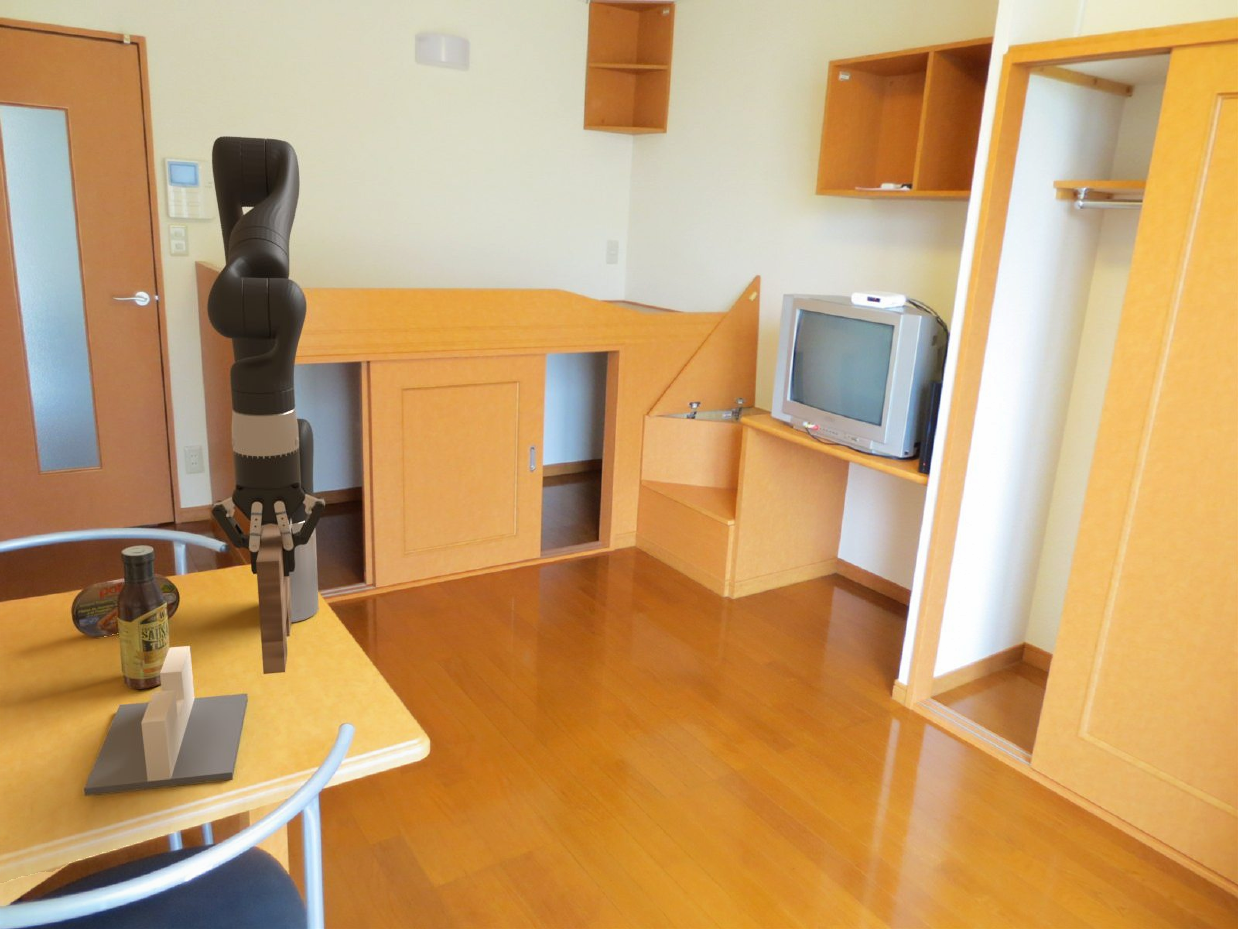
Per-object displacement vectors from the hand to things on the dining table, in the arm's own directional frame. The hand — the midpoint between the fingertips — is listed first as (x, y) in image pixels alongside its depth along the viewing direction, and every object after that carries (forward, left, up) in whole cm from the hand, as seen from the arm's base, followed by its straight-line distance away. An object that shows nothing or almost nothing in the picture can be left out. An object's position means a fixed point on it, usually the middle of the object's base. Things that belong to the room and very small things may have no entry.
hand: (273, 574), depth 116 cm
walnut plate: (0, 0, -10) cm, 10 cm away
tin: (-32, -25, -22) cm, 46 cm away
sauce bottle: (-15, -19, -22) cm, 33 cm away
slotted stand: (+2, -13, -22) cm, 26 cm away
